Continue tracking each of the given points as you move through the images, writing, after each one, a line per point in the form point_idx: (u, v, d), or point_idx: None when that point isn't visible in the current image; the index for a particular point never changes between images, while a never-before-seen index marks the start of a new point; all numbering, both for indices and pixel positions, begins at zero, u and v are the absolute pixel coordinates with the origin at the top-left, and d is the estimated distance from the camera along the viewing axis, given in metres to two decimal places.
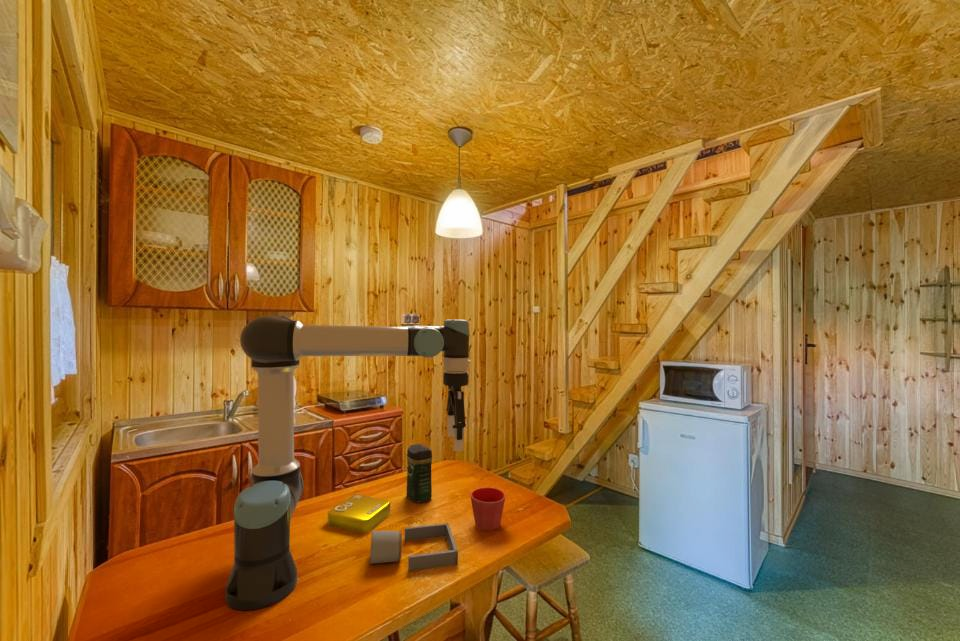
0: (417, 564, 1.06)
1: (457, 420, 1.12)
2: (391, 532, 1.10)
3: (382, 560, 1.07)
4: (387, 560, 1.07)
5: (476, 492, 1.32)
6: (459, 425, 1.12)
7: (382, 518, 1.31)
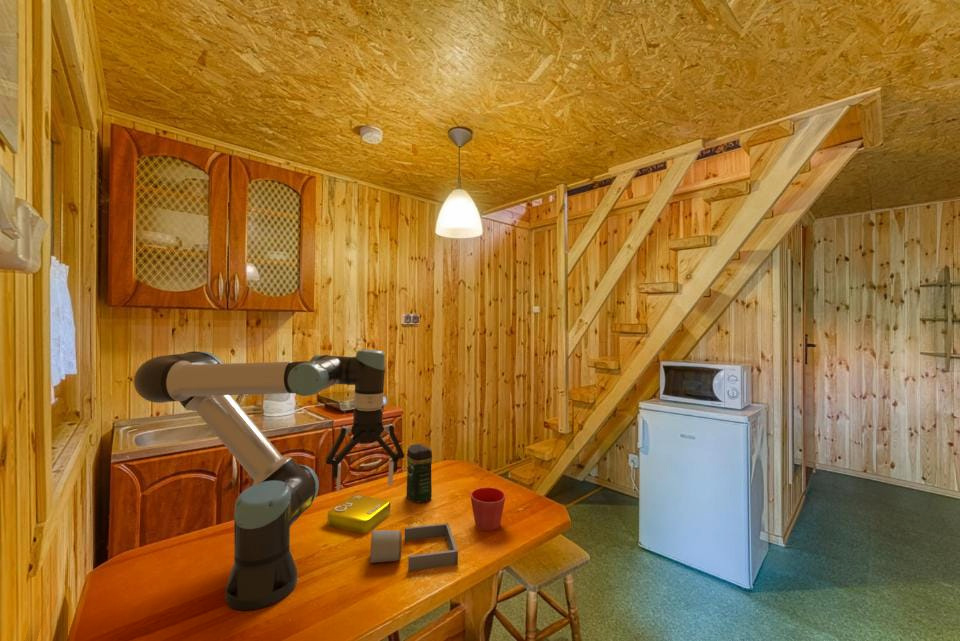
0: (417, 564, 1.06)
1: (328, 454, 1.08)
2: (391, 531, 1.10)
3: (382, 559, 1.07)
4: (387, 559, 1.07)
5: (476, 492, 1.32)
6: (326, 459, 1.07)
7: (382, 518, 1.31)
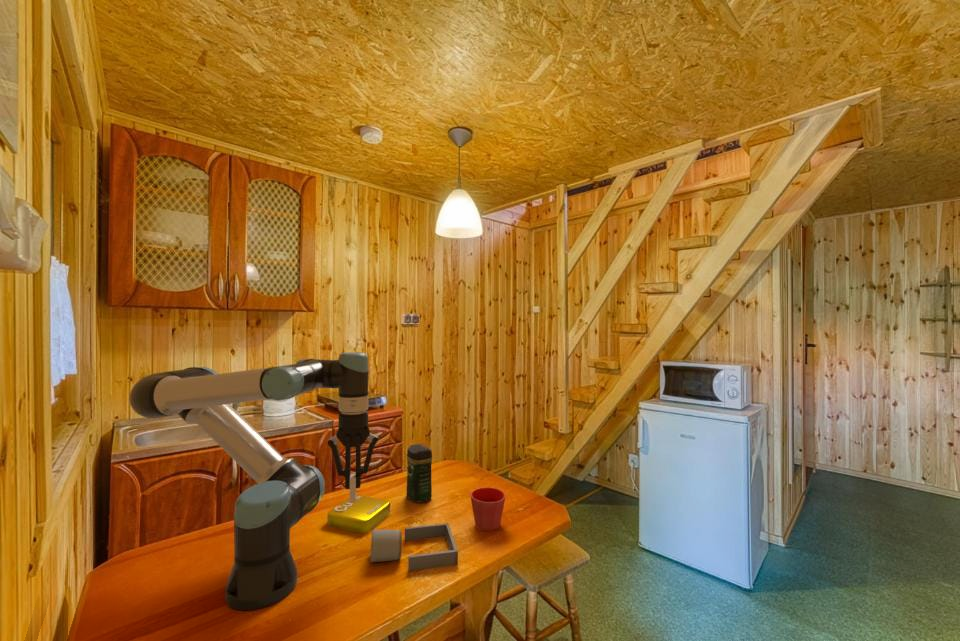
0: (417, 564, 1.06)
1: None
2: (391, 531, 1.11)
3: (382, 559, 1.07)
4: (387, 559, 1.08)
5: (476, 492, 1.32)
6: None
7: (382, 518, 1.31)
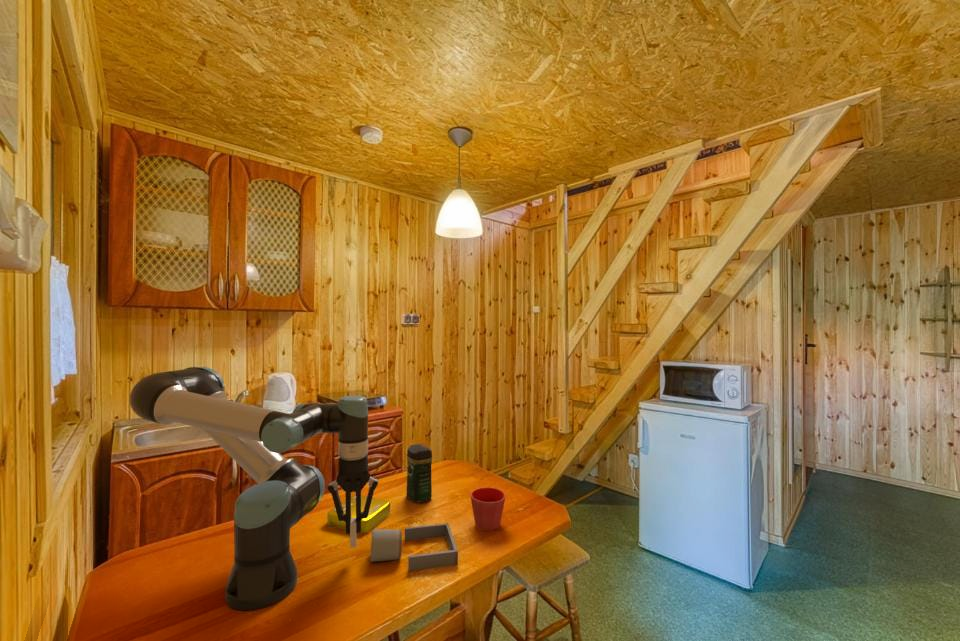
0: (417, 564, 1.06)
1: None
2: (391, 530, 1.11)
3: (382, 558, 1.07)
4: (387, 558, 1.08)
5: (476, 492, 1.32)
6: None
7: (382, 518, 1.31)
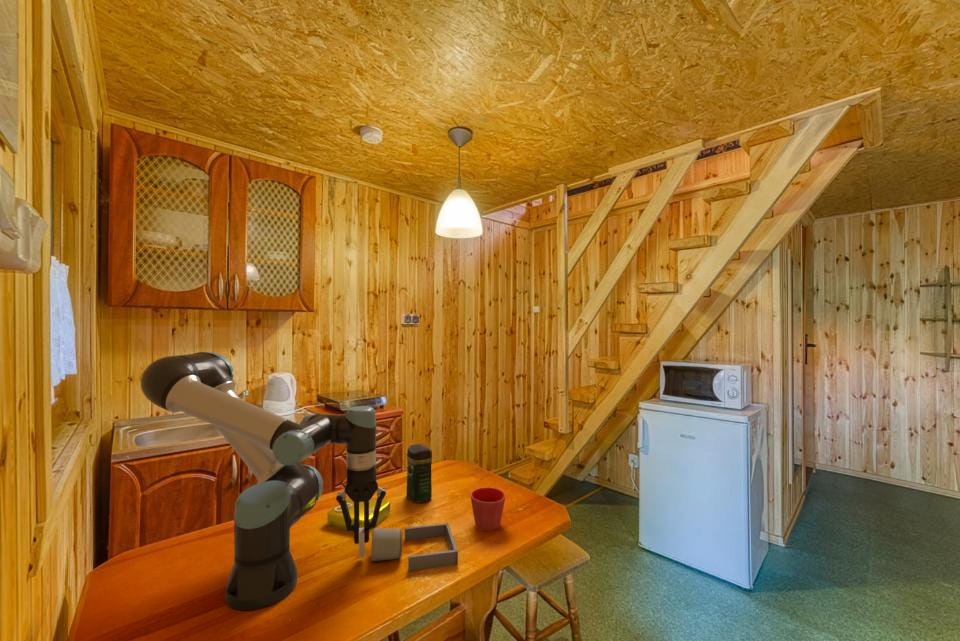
0: (417, 564, 1.06)
1: None
2: (392, 530, 1.11)
3: (383, 557, 1.08)
4: (388, 557, 1.08)
5: (476, 492, 1.32)
6: None
7: (382, 518, 1.31)
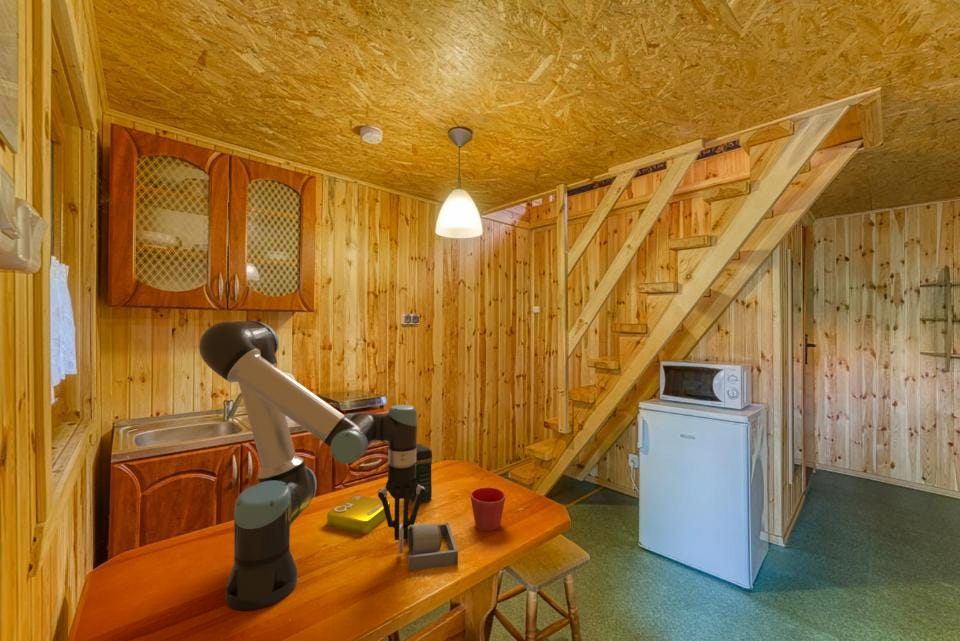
0: (417, 564, 1.06)
1: None
2: (429, 525, 1.14)
3: (424, 552, 1.10)
4: (428, 552, 1.11)
5: (476, 492, 1.32)
6: None
7: (382, 519, 1.30)
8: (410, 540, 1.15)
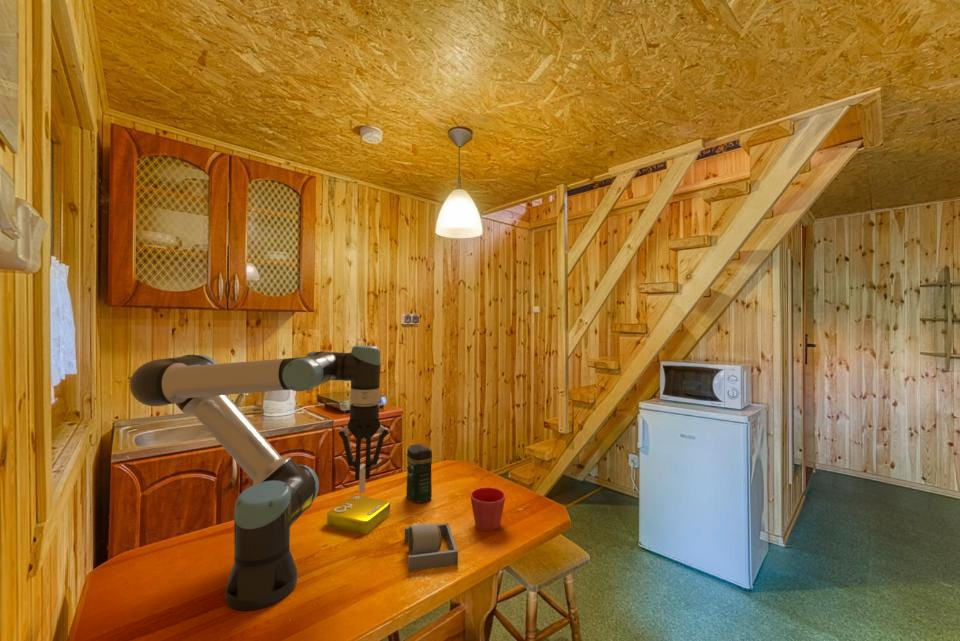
0: (417, 564, 1.06)
1: None
2: (429, 525, 1.14)
3: (424, 552, 1.10)
4: (428, 552, 1.11)
5: (476, 492, 1.32)
6: None
7: (382, 519, 1.30)
8: (410, 540, 1.15)
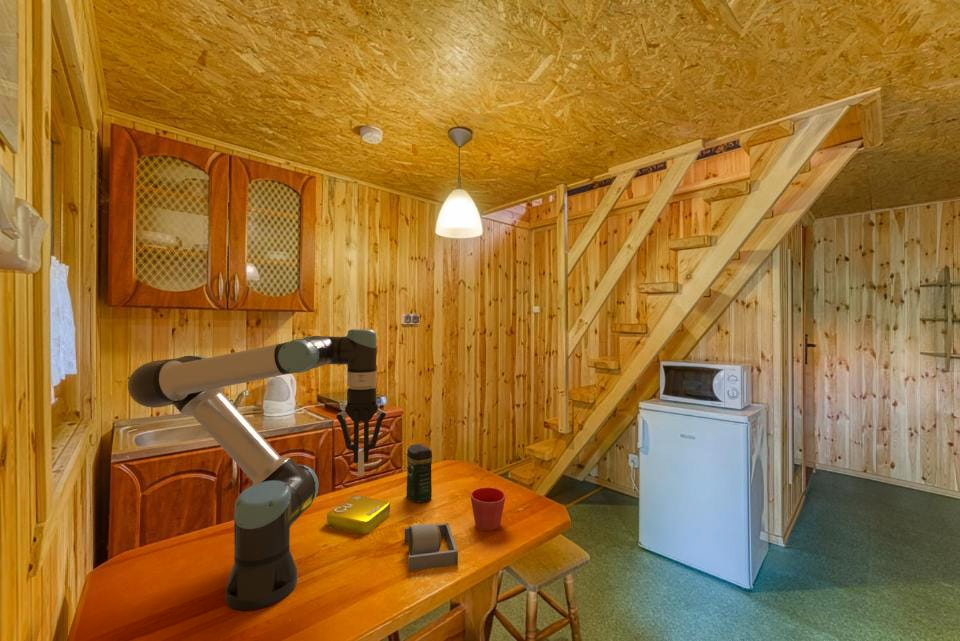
0: (417, 564, 1.06)
1: None
2: (429, 525, 1.14)
3: (423, 552, 1.10)
4: (428, 552, 1.11)
5: (476, 492, 1.32)
6: None
7: (382, 519, 1.30)
8: (410, 540, 1.15)
